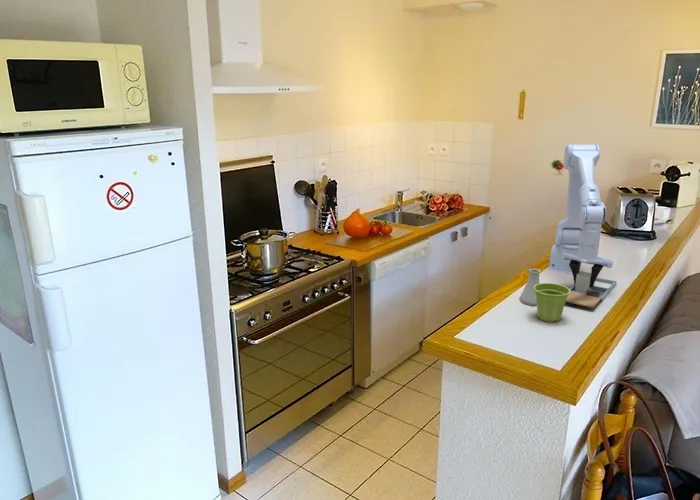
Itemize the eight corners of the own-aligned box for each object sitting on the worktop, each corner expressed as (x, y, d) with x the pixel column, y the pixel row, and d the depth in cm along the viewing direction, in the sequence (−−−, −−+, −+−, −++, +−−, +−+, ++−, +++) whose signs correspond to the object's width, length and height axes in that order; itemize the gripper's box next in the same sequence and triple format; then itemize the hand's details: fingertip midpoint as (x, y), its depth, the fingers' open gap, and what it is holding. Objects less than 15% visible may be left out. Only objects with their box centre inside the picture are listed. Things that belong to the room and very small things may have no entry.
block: (574, 290, 167) (576, 274, 165) (578, 287, 170) (580, 271, 168) (588, 293, 165) (590, 276, 163) (591, 289, 168) (593, 273, 166)
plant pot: (563, 327, 142) (566, 297, 140) (527, 320, 147) (530, 290, 144) (569, 315, 150) (573, 286, 147) (535, 308, 154) (538, 280, 152)
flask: (532, 308, 155) (535, 275, 152) (514, 300, 161) (516, 268, 158) (549, 303, 158) (553, 271, 155) (531, 295, 164) (534, 265, 162)
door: (557, 300, 156) (558, 293, 156) (566, 291, 163) (567, 285, 163) (593, 307, 150) (594, 301, 150) (601, 298, 157) (602, 291, 157)
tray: (566, 296, 164) (566, 291, 163) (582, 279, 178) (583, 275, 178) (601, 303, 158) (602, 298, 157) (615, 285, 172) (616, 281, 172)
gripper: (560, 242, 164) (556, 284, 168) (611, 250, 156) (605, 293, 159) (567, 237, 170) (563, 278, 173) (616, 245, 161) (611, 287, 165)
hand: (583, 285), depth 167 cm, fingers closed on block, 4 cm apart
